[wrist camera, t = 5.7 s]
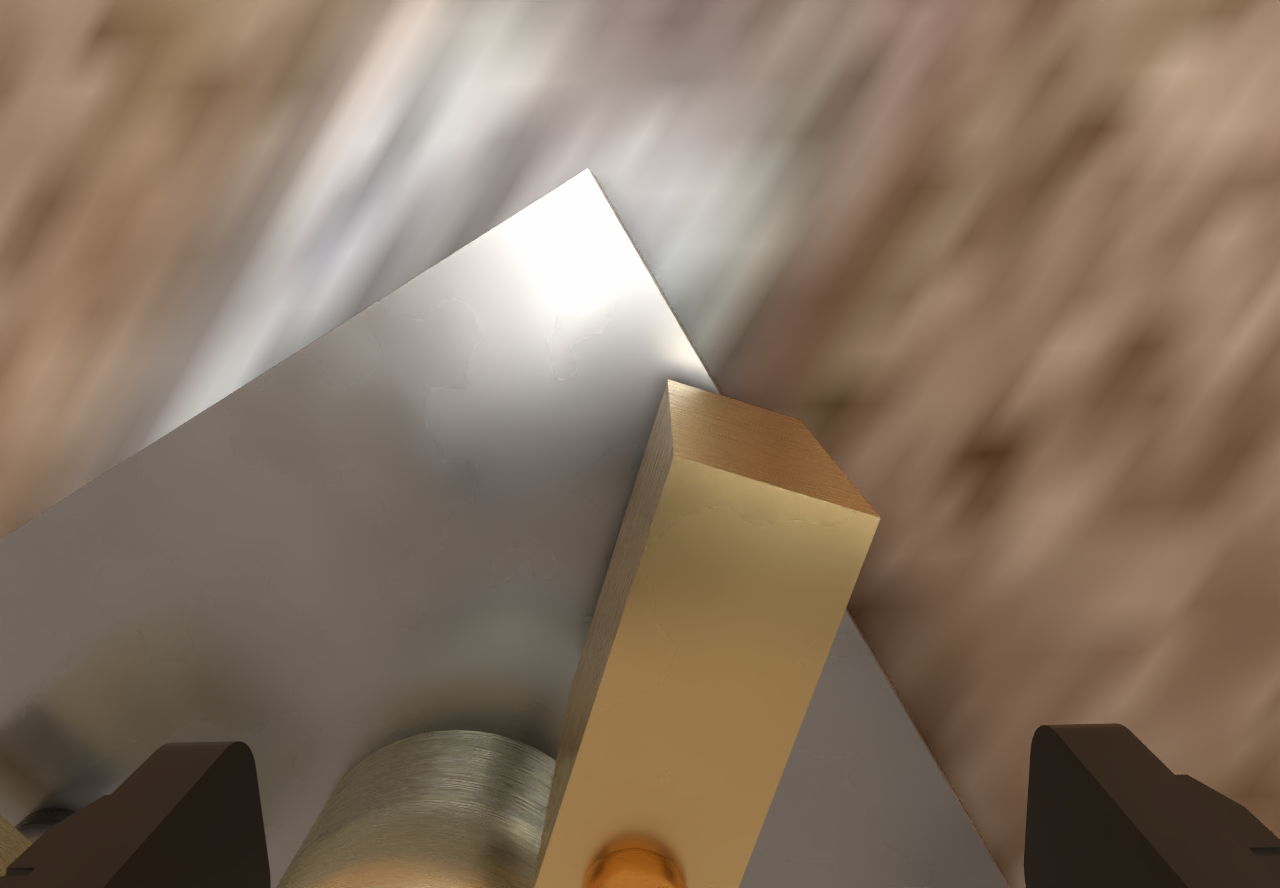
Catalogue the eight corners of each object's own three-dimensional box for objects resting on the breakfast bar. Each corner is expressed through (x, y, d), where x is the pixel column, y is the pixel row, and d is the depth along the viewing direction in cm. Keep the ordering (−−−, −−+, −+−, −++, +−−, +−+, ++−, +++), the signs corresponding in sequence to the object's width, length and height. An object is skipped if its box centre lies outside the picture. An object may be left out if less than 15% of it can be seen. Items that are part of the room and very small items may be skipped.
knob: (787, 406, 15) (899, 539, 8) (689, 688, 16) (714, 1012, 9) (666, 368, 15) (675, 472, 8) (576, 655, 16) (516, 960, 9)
